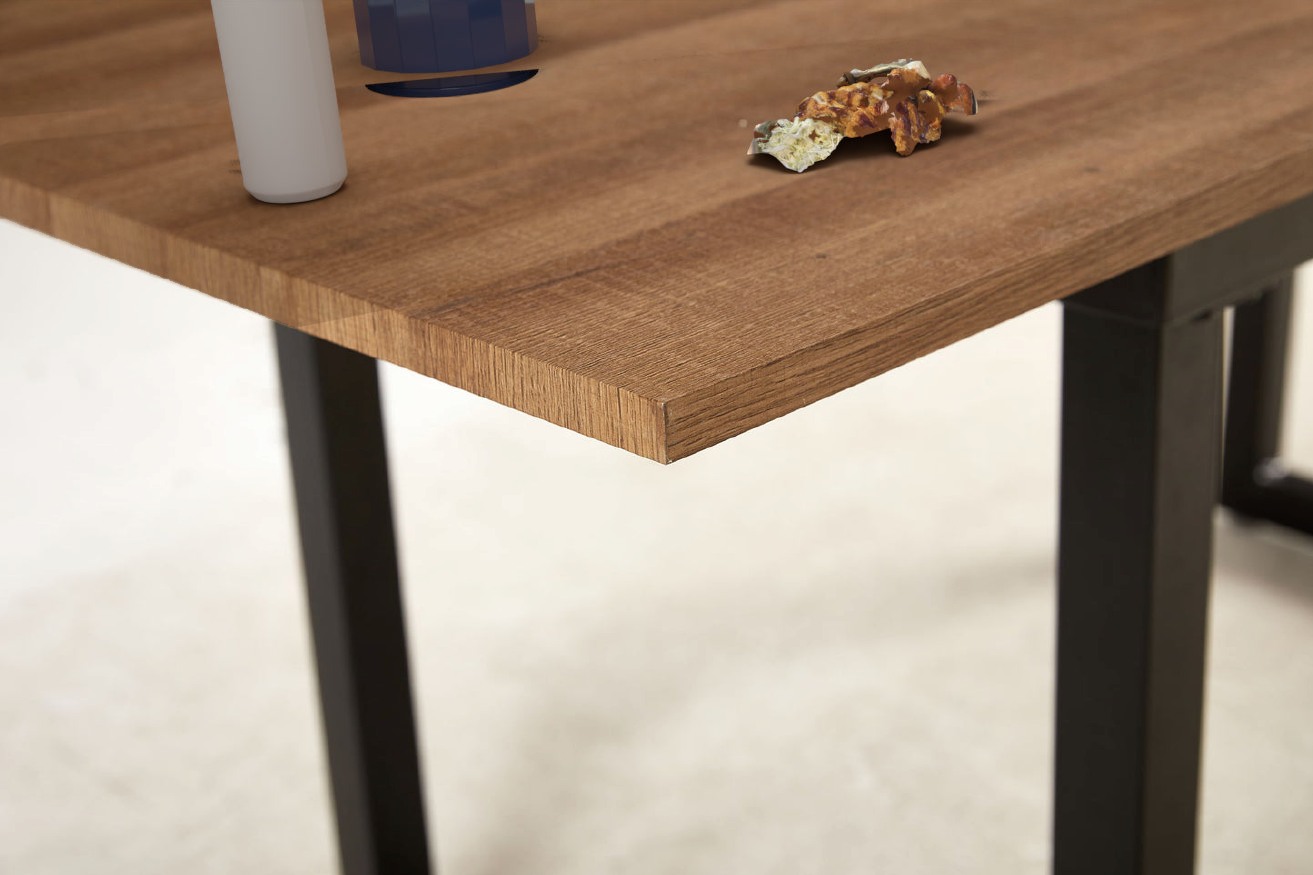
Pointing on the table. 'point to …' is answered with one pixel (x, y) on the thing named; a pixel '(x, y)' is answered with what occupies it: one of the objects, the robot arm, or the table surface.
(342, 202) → the table surface
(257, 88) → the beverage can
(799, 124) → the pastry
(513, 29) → the pot
